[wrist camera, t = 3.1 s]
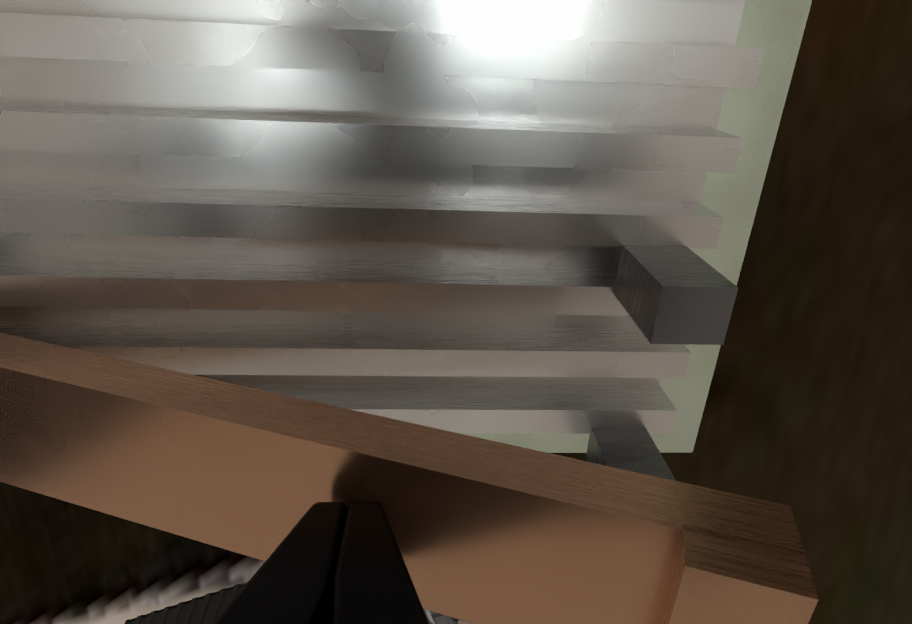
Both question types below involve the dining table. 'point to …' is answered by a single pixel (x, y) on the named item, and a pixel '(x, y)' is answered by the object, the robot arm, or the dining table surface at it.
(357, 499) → the strap
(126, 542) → the dining table surface
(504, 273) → the heat sink board
